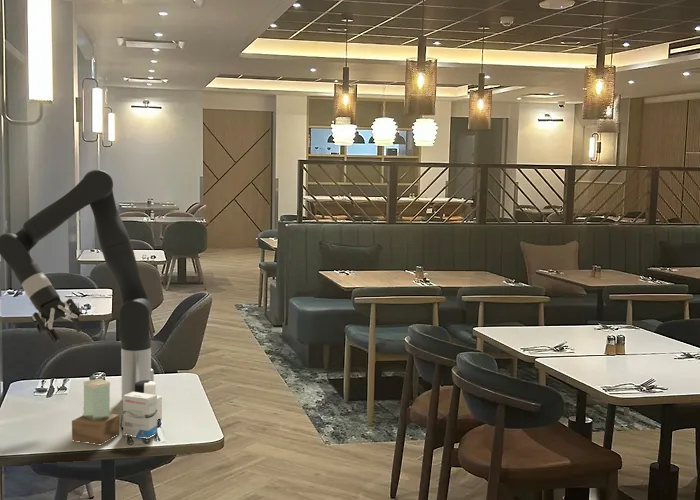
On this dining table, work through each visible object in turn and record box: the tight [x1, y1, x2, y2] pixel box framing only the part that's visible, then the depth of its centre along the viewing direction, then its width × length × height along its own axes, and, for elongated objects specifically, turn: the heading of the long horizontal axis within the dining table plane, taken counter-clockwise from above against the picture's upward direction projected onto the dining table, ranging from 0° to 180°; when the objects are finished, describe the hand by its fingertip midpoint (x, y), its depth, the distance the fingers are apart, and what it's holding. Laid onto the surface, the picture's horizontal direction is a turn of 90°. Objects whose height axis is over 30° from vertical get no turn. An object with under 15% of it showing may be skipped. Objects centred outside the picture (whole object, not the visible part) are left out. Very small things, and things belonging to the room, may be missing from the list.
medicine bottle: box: [135, 380, 163, 421], centre depth 236 cm, size 7×7×12 cm
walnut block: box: [71, 413, 120, 445], centre depth 221 cm, size 9×9×6 cm
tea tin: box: [83, 378, 111, 421], centre depth 221 cm, size 5×5×10 cm
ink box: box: [122, 392, 158, 438], centre depth 224 cm, size 8×5×12 cm, turn 71°
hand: (69, 335), depth 237 cm, fingers open, 8 cm apart
